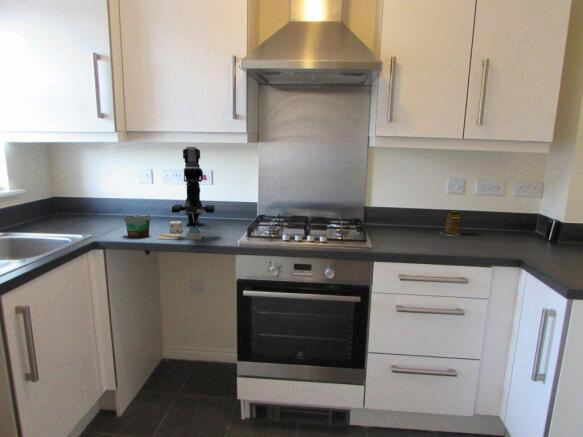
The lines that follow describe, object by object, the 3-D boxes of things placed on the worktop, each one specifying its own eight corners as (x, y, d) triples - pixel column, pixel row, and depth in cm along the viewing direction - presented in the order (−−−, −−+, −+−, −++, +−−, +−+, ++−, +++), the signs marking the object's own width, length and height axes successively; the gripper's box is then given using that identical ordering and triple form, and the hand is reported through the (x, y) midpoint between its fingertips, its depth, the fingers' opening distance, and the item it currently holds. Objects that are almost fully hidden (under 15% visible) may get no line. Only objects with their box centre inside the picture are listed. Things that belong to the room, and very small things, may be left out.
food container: (120, 238, 168) (118, 216, 166) (125, 235, 174) (124, 214, 172) (147, 238, 169) (146, 217, 166) (152, 235, 175) (151, 214, 173)
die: (171, 231, 184) (171, 221, 183) (182, 231, 185) (181, 221, 184) (169, 233, 180) (169, 223, 179) (180, 233, 180) (179, 223, 179)
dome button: (190, 234, 174) (190, 225, 174) (199, 234, 175) (199, 226, 174) (188, 236, 170) (188, 228, 169) (198, 236, 171) (198, 228, 170)
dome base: (188, 235, 176) (188, 229, 175) (202, 235, 176) (202, 229, 176) (186, 239, 169) (186, 233, 169) (200, 239, 170) (200, 233, 169)
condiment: (461, 234, 192) (464, 212, 190) (449, 236, 188) (452, 213, 186) (449, 231, 198) (452, 209, 196) (438, 233, 195) (440, 210, 192)
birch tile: (162, 234, 177) (162, 233, 177) (181, 234, 178) (181, 233, 178) (157, 239, 168) (157, 238, 168) (177, 239, 169) (177, 238, 169)
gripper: (168, 196, 160) (169, 231, 163) (212, 196, 162) (212, 231, 165) (173, 192, 171) (174, 225, 174) (214, 192, 173) (215, 225, 176)
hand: (194, 227), depth 172 cm, fingers closed, pressing on dome button
